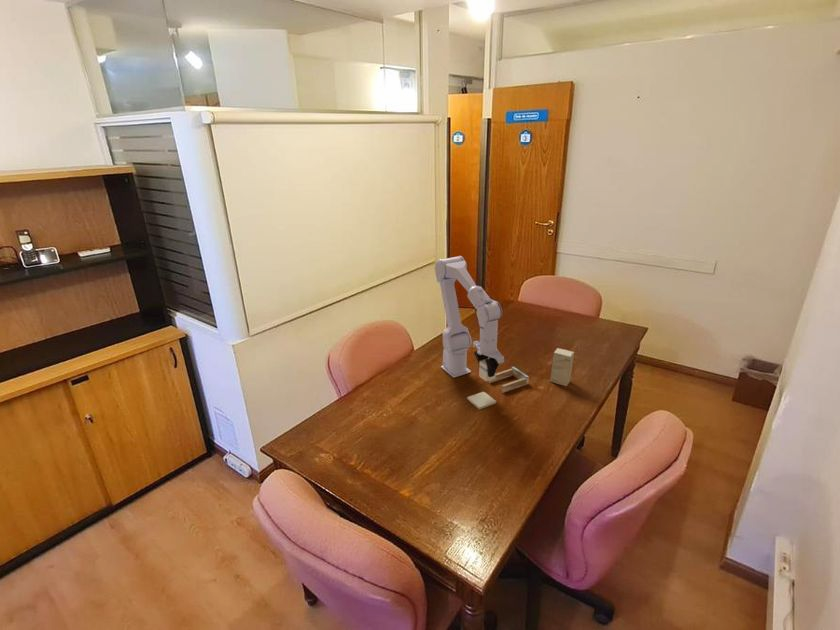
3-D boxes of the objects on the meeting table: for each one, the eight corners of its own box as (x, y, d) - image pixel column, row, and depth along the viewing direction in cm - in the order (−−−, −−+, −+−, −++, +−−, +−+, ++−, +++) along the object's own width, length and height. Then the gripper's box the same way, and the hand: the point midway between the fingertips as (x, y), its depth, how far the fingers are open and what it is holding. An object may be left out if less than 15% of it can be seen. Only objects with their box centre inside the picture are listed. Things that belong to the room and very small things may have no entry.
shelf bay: (488, 381, 162) (488, 374, 161) (513, 373, 167) (513, 366, 166) (503, 392, 155) (503, 385, 154) (528, 383, 160) (528, 376, 159)
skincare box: (549, 381, 161) (552, 352, 156) (553, 376, 165) (556, 347, 160) (567, 386, 158) (570, 356, 153) (570, 381, 161) (574, 351, 157)
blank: (478, 376, 153) (479, 361, 151) (488, 373, 155) (488, 358, 153) (486, 381, 150) (486, 366, 147) (495, 378, 152) (496, 362, 149)
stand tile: (467, 399, 152) (467, 397, 152) (483, 393, 155) (483, 391, 155) (479, 409, 147) (479, 407, 146) (496, 403, 150) (496, 401, 149)
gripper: (465, 332, 150) (465, 367, 156) (492, 348, 139) (490, 386, 144) (482, 327, 154) (481, 362, 159) (509, 343, 142) (507, 380, 147)
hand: (487, 373), depth 152 cm, fingers closed on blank, 4 cm apart
